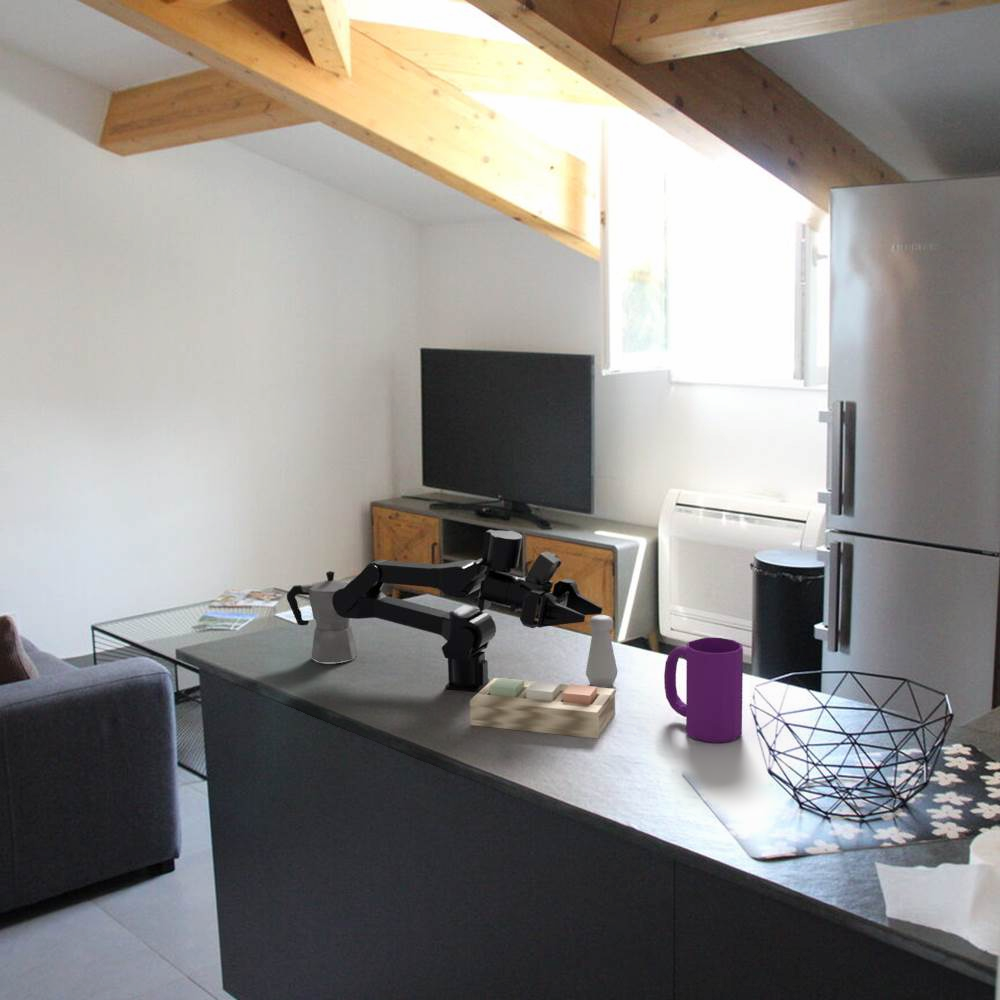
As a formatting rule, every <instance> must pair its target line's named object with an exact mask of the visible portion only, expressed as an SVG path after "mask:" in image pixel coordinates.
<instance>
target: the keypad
mask: <svg viewBox="0 0 1000 1000" xmlns="http://www.w3.org/2000/svg"><path fill="white" fill-rule="evenodd" d="M498 678H499V677H493V679H491V680H490V681H488V682H487V683H486V684H485V685H484V686H483V687H482V688H481V689H480V690H479V691H477V693H476V694H475V695H474V696H473V697H472V698H471V699H469V706H470V707H469V708H470V726H476V727H477V726H478V727H486V728H494V729H495V728H496V729H505V730H514V731H515V730H516V731H522V732H525V731H526V732H535V733H543V734H553V735H554V734H555V735H561V736H562V735H563V736H571V737H582V738H591V739H598V738H599V737H600V736H601V734H602V733H603V731H604V730H605V729H606V728H607V725H608V724H609V723H610V722H611V720H612V719H613V717H615V714H616V688H612V687H608V688H600V687H597V699H596V700H595V701H594V702H593V704H592V705H589V704H579V703H568V702H563V693H564V692H565V690H566V689H567V688H568V687H569V686H570V685H571V684H565V683H560V695H559V696H558V697H557V698H556V699H555V700H554V701H548V700H537V699H527V698H526V689H527V688H528V687H529V686H530V685H531V684H532V683H533V682H534V681H535V680H534V681H532V680H524V691H523V692H522V693H521V694H520V695H519V696H518V697H517V698H516V697H506V696H495V695H490V686H491V685H492V684H493V683H494V682H495V681H496V680H497V679H498Z"/></svg>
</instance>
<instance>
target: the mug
mask: <svg viewBox="0 0 1000 1000" xmlns="http://www.w3.org/2000/svg"><path fill="white" fill-rule="evenodd" d="M681 656H682V657H683V659H684V660H685V661H686V672H685V673H686V674H685V676H686V680H685V681H686V689H685V690H686V698H685V701H686V703H685V702H683V700H682V699H681V697H680V696H679V694H678V690H677V670H678V669H677V667H678V662H679V659H680V657H681ZM743 658H744V649H743V644H742V643H740V642H738V641H736V640H734V639H728V638H723V637H701V638H698V639H694V640H690V641H688V642H686V646H683V645H682V646H681V645H680V646H679V645H678V646H676V647H675V648H673V649H672V650H671V651H670V653H669V654H668V655H667V657H666V661H665V667H664V677H663V680H664V683H663V684H664V691H665V697H666V700H667V701H668V704H669V705H670V707H671V709H672V710H673V711H674V712H676V714H679V715H680V716H682V717H685V720H686V722H685V723H686V725H685V726H686V729H685V730H686V731H685V732H686V734H687V735H688V736H689V737H691V738H693V739H694V740H696V741H700V742H705V743H715V744H717V743H719V744H722V743H729V742H733V741H735V740H736V739H738V738H740V737H741V736H742V734H743V678H744V677H743V676H744V675H743V672H744V670H743V668H744V667H743V666H744V663H743V662H744V659H743ZM732 740H733V741H732ZM728 741H729V742H728Z"/></svg>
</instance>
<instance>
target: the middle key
mask: <svg viewBox="0 0 1000 1000" xmlns="http://www.w3.org/2000/svg"><path fill="white" fill-rule="evenodd" d="M560 684H561V683H559V682H558V683H557V682H549V681H537V680H534V682H533V683H532V684H531V685H530V686H529V687H528V688H527V689H526V698H527V699H537V700H548V701H554V700H555V699H556V698H557V697H558V696H559V695H560Z"/></svg>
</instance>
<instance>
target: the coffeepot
mask: <svg viewBox="0 0 1000 1000" xmlns="http://www.w3.org/2000/svg"><path fill="white" fill-rule="evenodd" d="M325 575H326V578H327V580H322V581H318V582H314V583H312V584H302V585H299V584H297V585H293V586H292V587H291V588H290V589H289V591H288V592H287V594H286V600H287V602H288V604H289V607H290V609H291V612H292V613H293V615H294V616H293V617H294V619H295V621H296V624H297V625H298V626H308V624H309V622H310V621H309V620H305V619H303V618H302V612H301V611H302V610H301V609H300V608H299V604H298V601H297V598H296V597H297V596H298V595H302V596H308V598H309V603H310V607H311V612H312V618H313V619H314V620H315V628H314V631H313V632H314V633H313V640H312V650H311V656H310V657H311V658H313V659H315V660H317V661H319V662H341V661H345V660H346V661H347V660H351V659H353V658H354V657H355V656H356V655H357V656H358V651H357V646H356V642H355V638H354V634H353V628H352V626H351V625H350V624H351V623H350V618H343V617H340V616H339V615H337V614H336V611H335V609H334V607H333V603H332V599H333V595H334V593H335V592H336V591H337V590H339V589H341V588H343V587H346V586H347V585H348V584H349V583H350V582H351V581H347V580H339V579H334V578H335V571H330V570H329V571H326V573H325ZM357 656H356V657H357Z"/></svg>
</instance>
